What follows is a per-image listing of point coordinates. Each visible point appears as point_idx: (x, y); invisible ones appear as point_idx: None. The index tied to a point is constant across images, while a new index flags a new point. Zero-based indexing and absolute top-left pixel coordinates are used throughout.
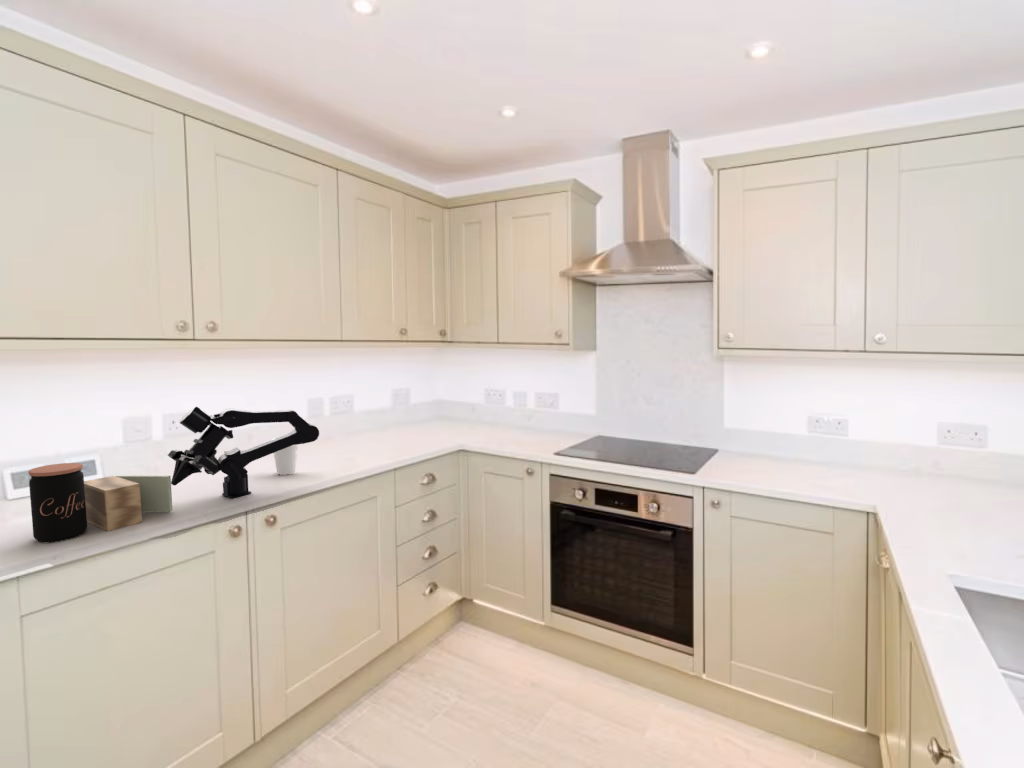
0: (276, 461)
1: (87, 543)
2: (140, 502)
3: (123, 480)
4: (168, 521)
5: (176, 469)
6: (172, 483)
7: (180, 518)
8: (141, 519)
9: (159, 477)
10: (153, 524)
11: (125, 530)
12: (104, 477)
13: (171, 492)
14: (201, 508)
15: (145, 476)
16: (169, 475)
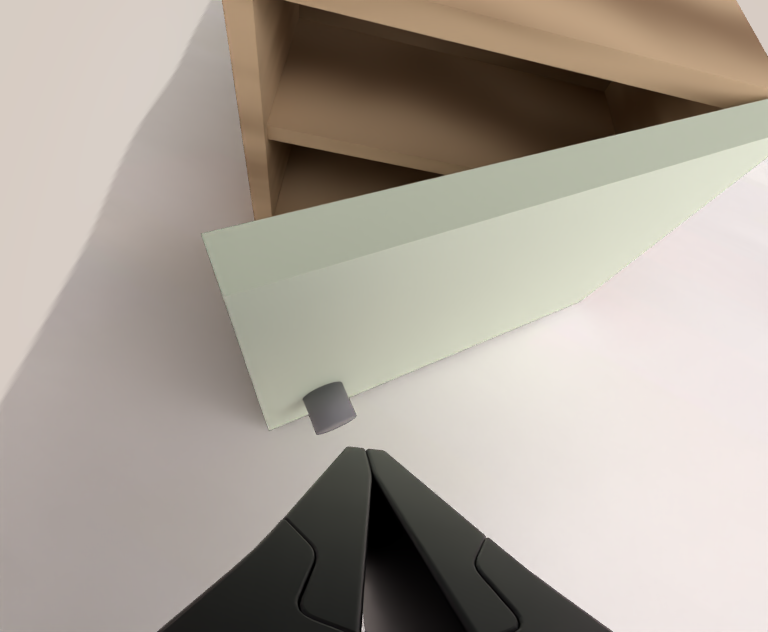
0: None
1: (219, 29)
2: (242, 131)
3: (509, 5)
4: (99, 291)
5: (441, 571)
6: (346, 448)
7: (60, 360)
8: (255, 218)
9: (345, 211)
10: (150, 229)
11: (217, 140)
12: (762, 48)
13: (255, 390)
14: (91, 624)
15: (526, 157)
16: (246, 292)
